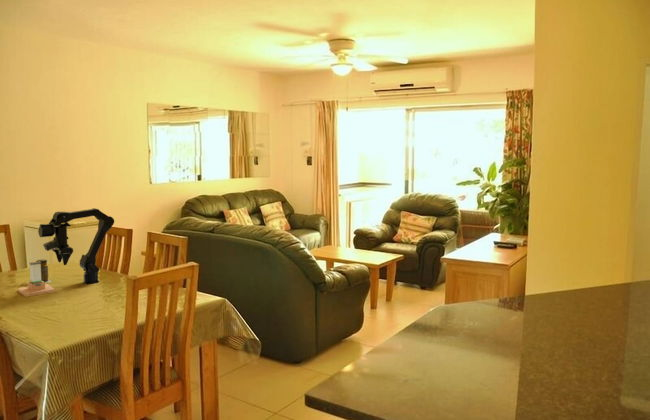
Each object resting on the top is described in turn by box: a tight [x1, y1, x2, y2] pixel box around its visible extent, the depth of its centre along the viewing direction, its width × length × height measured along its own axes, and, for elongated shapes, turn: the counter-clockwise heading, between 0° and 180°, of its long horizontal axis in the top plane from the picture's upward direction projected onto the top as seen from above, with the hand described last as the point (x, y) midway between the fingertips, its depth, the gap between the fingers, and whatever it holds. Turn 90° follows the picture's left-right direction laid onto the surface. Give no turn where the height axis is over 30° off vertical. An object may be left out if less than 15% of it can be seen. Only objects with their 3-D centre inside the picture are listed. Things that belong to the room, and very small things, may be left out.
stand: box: [17, 281, 56, 298], centre depth 263 cm, size 14×14×5 cm
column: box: [29, 261, 42, 283], centre depth 262 cm, size 5×4×10 cm
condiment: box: [35, 259, 52, 284], centre depth 282 cm, size 7×8×12 cm
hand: (62, 263), depth 271 cm, fingers open, 9 cm apart
